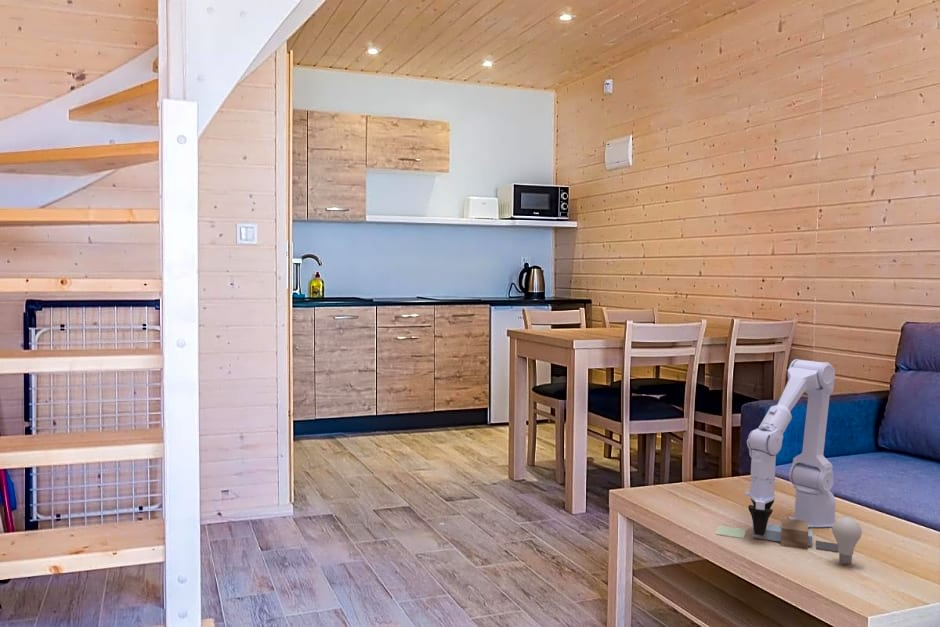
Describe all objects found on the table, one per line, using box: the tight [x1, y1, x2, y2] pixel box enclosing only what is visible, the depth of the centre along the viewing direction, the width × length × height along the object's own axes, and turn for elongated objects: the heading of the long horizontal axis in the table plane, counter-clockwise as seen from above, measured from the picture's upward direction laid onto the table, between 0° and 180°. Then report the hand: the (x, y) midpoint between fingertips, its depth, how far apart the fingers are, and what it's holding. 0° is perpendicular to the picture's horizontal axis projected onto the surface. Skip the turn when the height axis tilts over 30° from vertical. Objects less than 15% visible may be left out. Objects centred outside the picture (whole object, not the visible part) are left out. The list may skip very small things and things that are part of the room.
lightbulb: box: [831, 516, 863, 566], centre depth 176 cm, size 6×6×11 cm
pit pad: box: [815, 540, 839, 554], centre depth 187 cm, size 6×6×1 cm
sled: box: [751, 519, 813, 547], centre depth 191 cm, size 14×5×6 cm, turn 66°
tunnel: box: [780, 517, 809, 551], centre depth 190 cm, size 6×9×4 cm
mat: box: [714, 525, 747, 539], centre depth 197 cm, size 7×7×1 cm
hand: (760, 530), depth 194 cm, fingers open, 7 cm apart
